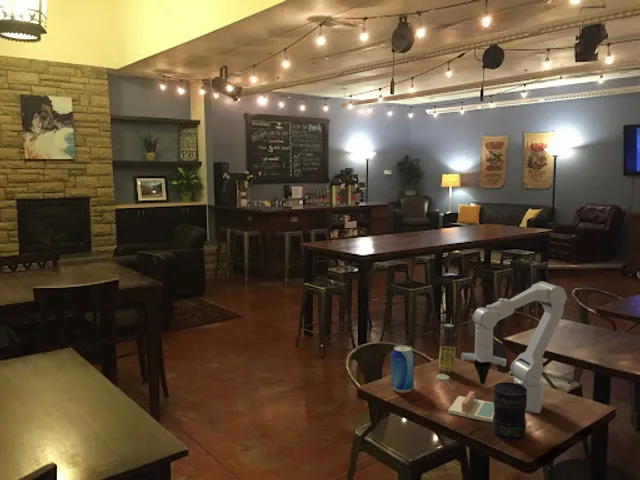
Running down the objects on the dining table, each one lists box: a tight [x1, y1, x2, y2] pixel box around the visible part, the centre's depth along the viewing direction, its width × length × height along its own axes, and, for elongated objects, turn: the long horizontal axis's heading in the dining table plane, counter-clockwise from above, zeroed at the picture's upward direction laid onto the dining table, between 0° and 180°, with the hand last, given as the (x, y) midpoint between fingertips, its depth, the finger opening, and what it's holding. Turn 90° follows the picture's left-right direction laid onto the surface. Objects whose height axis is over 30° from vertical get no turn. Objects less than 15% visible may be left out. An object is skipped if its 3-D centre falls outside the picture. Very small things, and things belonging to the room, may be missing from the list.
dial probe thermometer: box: [435, 373, 455, 391], centre depth 216 cm, size 5×1×15 cm
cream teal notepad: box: [466, 398, 494, 424], centre depth 190 cm, size 9×13×1 cm
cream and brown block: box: [447, 390, 476, 418], centre depth 193 cm, size 6×13×4 cm, turn 151°
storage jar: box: [492, 381, 527, 443], centre depth 174 cm, size 10×10×15 cm
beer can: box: [390, 345, 415, 394], centre depth 210 cm, size 8×8×16 cm
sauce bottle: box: [438, 323, 457, 376], centre depth 225 cm, size 6×6×20 cm
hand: (482, 382), depth 189 cm, fingers closed
